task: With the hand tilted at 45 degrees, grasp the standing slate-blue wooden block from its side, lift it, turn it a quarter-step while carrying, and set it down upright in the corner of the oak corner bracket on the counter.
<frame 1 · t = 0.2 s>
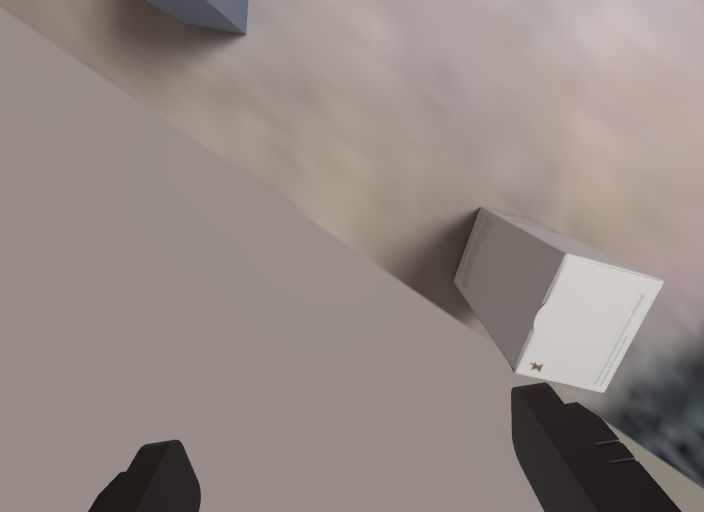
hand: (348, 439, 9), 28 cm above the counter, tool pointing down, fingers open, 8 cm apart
skincare box: (493, 250, 38), on the counter
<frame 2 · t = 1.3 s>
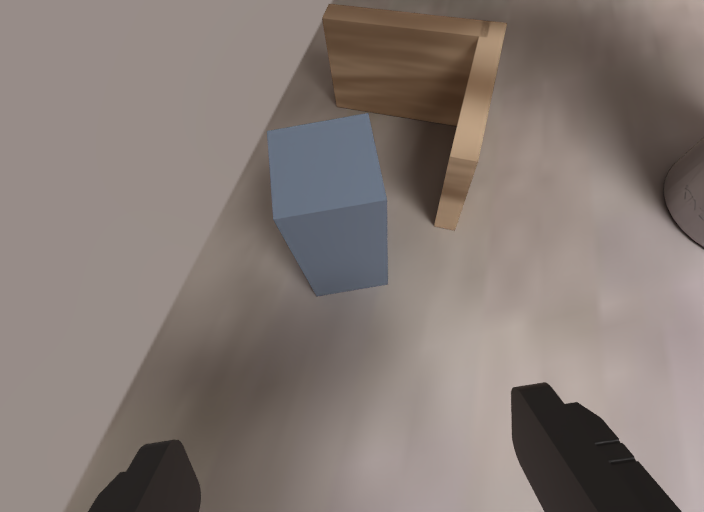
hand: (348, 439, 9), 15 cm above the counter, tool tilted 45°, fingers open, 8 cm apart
slate block: (347, 257, 28), on the counter
oak corner bracket: (376, 147, 31), on the counter
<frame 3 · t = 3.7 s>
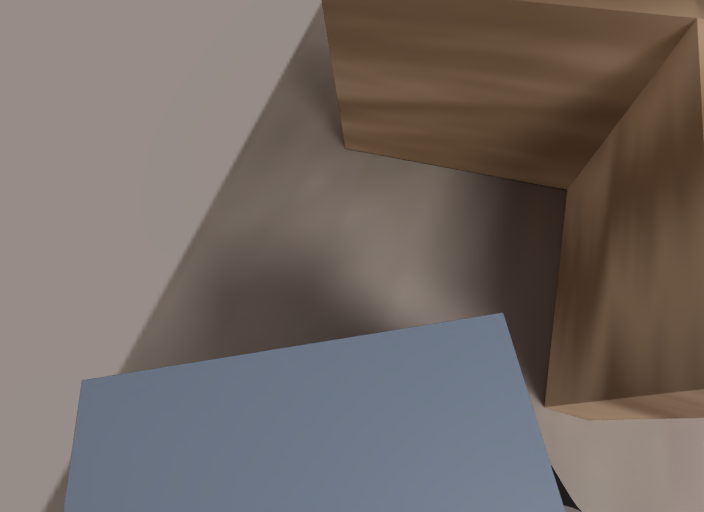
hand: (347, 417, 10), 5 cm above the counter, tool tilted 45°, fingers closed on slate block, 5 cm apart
slate block: (368, 476, 13), on the counter, touching gripper
oak corner bracket: (417, 227, 17), on the counter
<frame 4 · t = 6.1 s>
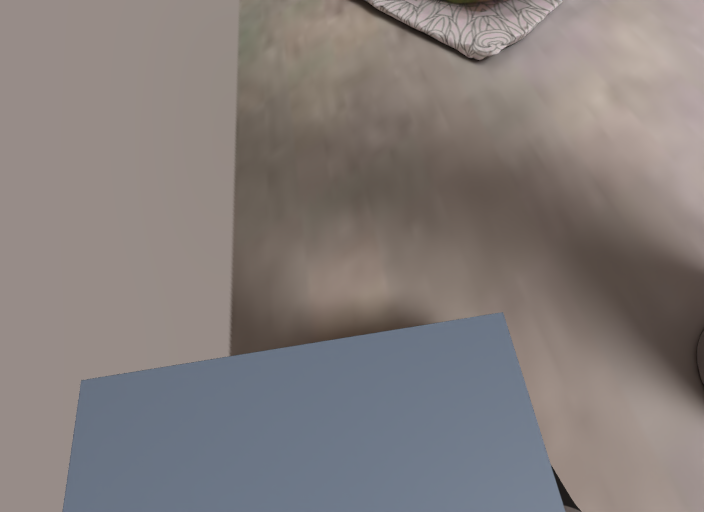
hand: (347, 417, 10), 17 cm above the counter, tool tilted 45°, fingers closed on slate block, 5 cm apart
slate block: (368, 476, 13), point 12 cm above the counter, touching gripper
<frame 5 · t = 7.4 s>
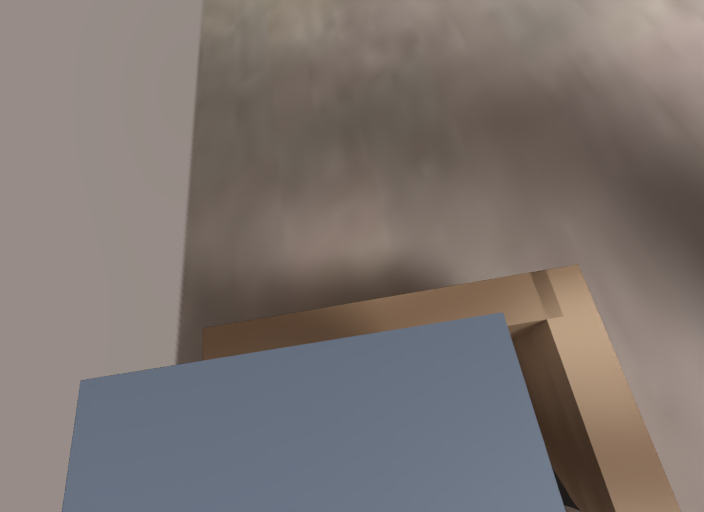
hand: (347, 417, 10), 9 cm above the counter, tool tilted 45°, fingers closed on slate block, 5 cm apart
slate block: (368, 476, 13), point 4 cm above the counter, touching gripper
oak corner bracket: (377, 457, 18), on the counter
when the fingers open (6 cm above the counter, at t = 8.5 s): slate block drops 1 cm, on the counter.
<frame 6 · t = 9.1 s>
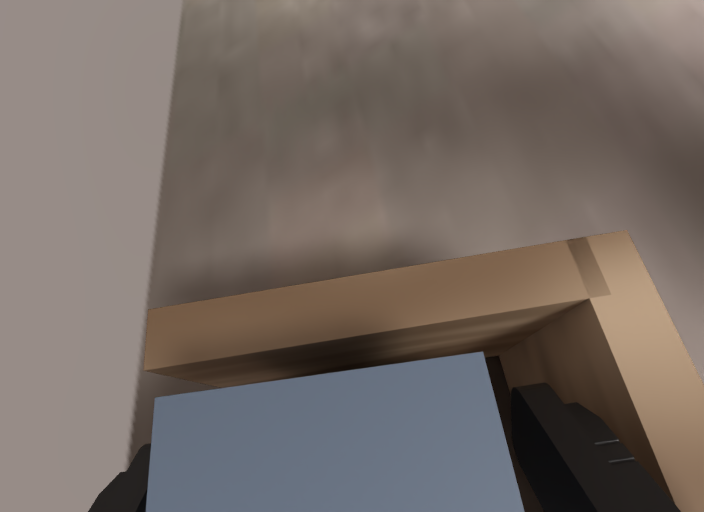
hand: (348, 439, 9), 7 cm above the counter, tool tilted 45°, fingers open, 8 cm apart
slate block: (371, 475, 15), on the counter
oak corner bracket: (370, 471, 15), on the counter
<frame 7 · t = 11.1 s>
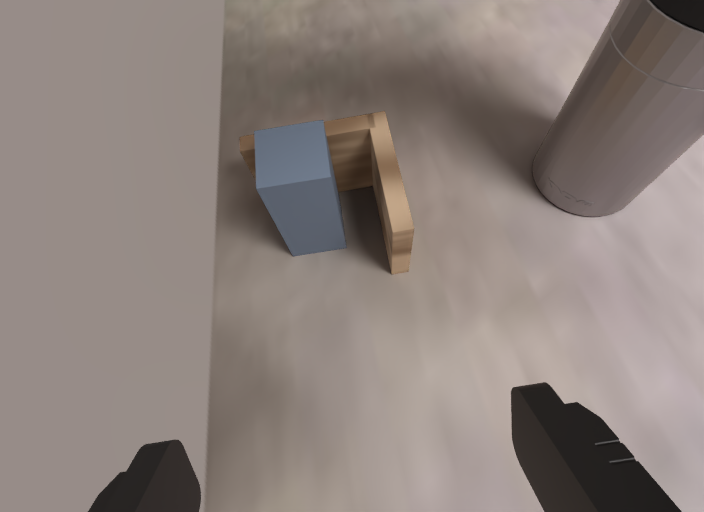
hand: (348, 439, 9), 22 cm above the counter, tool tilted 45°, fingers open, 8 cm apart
slate block: (317, 228, 36), on the counter
oak corner bracket: (317, 227, 36), on the counter
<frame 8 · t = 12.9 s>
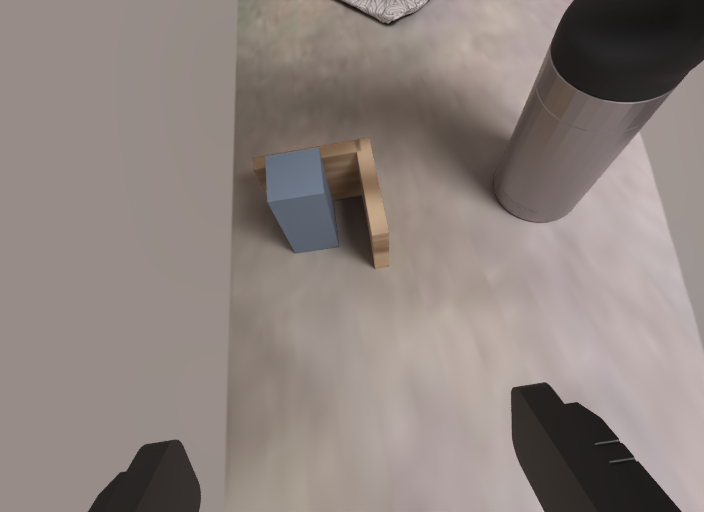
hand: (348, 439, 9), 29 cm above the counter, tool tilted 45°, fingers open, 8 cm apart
slate block: (315, 230, 44), on the counter
oak corner bracket: (315, 229, 44), on the counter
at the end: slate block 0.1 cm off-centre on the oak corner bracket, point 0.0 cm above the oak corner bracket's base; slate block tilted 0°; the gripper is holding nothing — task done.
